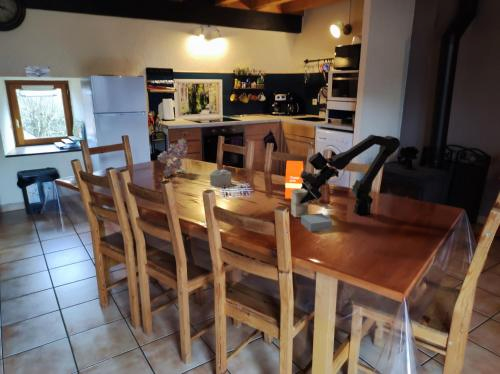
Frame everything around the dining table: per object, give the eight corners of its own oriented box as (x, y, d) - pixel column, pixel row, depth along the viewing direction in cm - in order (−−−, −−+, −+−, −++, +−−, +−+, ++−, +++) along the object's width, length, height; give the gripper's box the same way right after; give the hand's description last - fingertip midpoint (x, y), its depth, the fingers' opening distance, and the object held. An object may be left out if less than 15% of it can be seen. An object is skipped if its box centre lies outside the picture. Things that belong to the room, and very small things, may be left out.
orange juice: (301, 199, 198) (302, 162, 192) (285, 198, 199) (285, 162, 194) (302, 194, 205) (303, 159, 200) (286, 194, 207) (287, 159, 201)
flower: (155, 168, 263) (152, 140, 246) (185, 162, 271) (184, 134, 255) (162, 186, 250) (160, 157, 233) (194, 179, 258) (194, 151, 242)
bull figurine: (314, 206, 186) (315, 191, 183) (303, 198, 198) (304, 184, 196) (322, 205, 187) (323, 190, 184) (311, 198, 199) (311, 183, 197)
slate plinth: (321, 221, 167) (321, 213, 166) (332, 229, 158) (332, 220, 156) (300, 224, 164) (301, 215, 163) (310, 232, 155) (311, 223, 154)
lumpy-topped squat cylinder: (233, 184, 228) (233, 170, 226) (215, 187, 221) (214, 173, 218) (224, 180, 236) (224, 167, 234) (206, 184, 229) (206, 170, 227)
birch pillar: (302, 212, 178) (303, 188, 174) (307, 216, 172) (308, 192, 169) (291, 213, 176) (291, 189, 173) (295, 217, 171) (296, 193, 167)
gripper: (306, 160, 177) (283, 183, 179) (315, 169, 159) (289, 194, 161) (322, 176, 179) (299, 198, 182) (332, 186, 161) (306, 211, 164)
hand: (298, 200), depth 172 cm, fingers open, 9 cm apart
